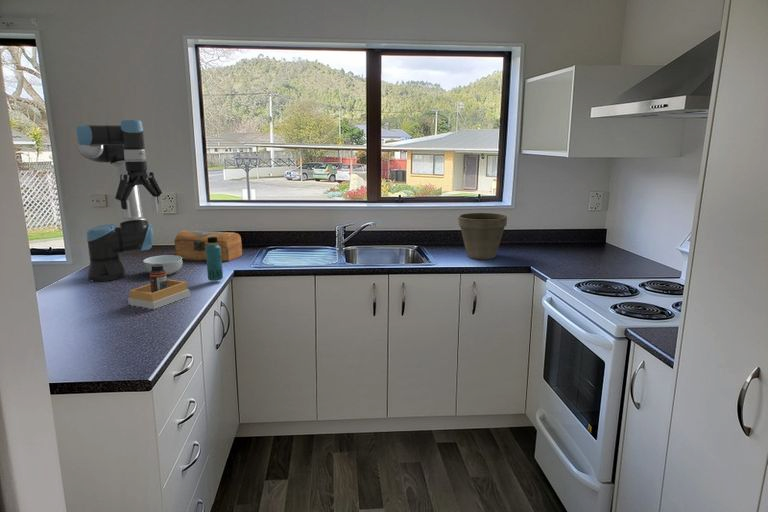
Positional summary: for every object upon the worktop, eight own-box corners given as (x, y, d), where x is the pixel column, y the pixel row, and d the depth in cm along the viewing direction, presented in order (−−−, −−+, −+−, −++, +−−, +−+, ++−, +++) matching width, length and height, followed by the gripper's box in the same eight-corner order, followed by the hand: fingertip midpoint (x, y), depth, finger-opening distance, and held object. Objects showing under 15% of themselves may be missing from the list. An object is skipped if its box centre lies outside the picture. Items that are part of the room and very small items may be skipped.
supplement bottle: (148, 293, 200) (145, 265, 198) (163, 290, 204) (161, 262, 202) (155, 296, 196) (152, 267, 194) (170, 293, 200) (168, 264, 198)
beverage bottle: (207, 284, 222) (203, 239, 218) (208, 280, 228) (204, 236, 224) (223, 283, 224) (219, 238, 219) (223, 279, 230) (220, 235, 226)
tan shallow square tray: (119, 304, 197) (117, 289, 196) (156, 291, 213) (155, 277, 212) (154, 310, 190) (152, 294, 189) (190, 296, 206) (189, 282, 205)
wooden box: (174, 260, 266) (171, 233, 263) (192, 252, 282) (190, 227, 279) (227, 263, 260) (225, 236, 257) (242, 255, 275) (241, 230, 272)
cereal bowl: (169, 279, 230) (168, 264, 229) (136, 277, 234) (134, 262, 232) (190, 269, 247) (189, 255, 245) (159, 268, 250) (158, 253, 248)
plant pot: (448, 253, 278) (449, 213, 273) (486, 249, 288) (487, 210, 283) (474, 264, 256) (476, 220, 251) (514, 259, 266) (517, 217, 261)
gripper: (114, 162, 188) (121, 220, 193) (167, 159, 211) (172, 211, 216) (100, 162, 191) (107, 218, 196) (154, 159, 214) (159, 210, 219)
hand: (141, 214), depth 206 cm, fingers open, 13 cm apart
